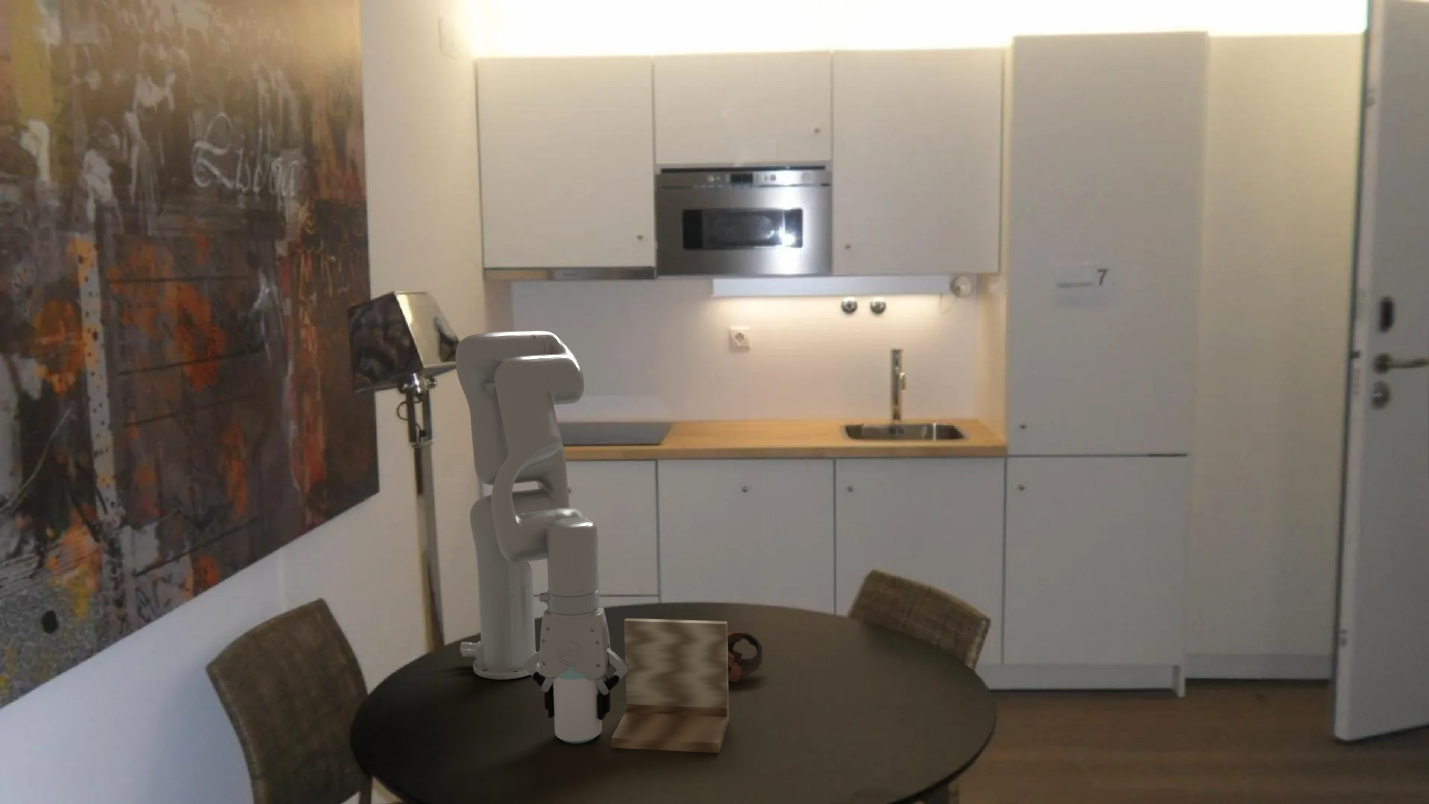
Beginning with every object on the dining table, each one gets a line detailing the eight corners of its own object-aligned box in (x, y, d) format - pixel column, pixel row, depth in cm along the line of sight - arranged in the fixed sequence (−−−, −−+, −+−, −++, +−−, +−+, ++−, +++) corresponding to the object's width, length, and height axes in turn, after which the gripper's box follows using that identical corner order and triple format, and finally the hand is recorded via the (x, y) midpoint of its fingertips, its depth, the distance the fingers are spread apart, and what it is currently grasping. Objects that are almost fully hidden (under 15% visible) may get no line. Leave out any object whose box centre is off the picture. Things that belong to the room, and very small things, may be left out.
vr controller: (754, 662, 189) (767, 630, 184) (753, 703, 181) (766, 671, 176) (690, 648, 188) (701, 616, 183) (686, 689, 180) (697, 656, 175)
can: (589, 748, 154) (587, 669, 153) (546, 742, 156) (544, 665, 155) (609, 728, 161) (607, 653, 159) (568, 723, 163) (565, 648, 161)
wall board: (611, 747, 154) (608, 642, 152) (628, 716, 165) (625, 618, 163) (718, 752, 152) (717, 646, 150) (728, 720, 163) (727, 621, 161)
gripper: (509, 607, 154) (514, 723, 156) (625, 611, 151) (628, 728, 153) (526, 592, 161) (530, 702, 163) (636, 595, 158) (639, 707, 160)
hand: (577, 714), depth 158 cm, fingers closed on can, 7 cm apart
